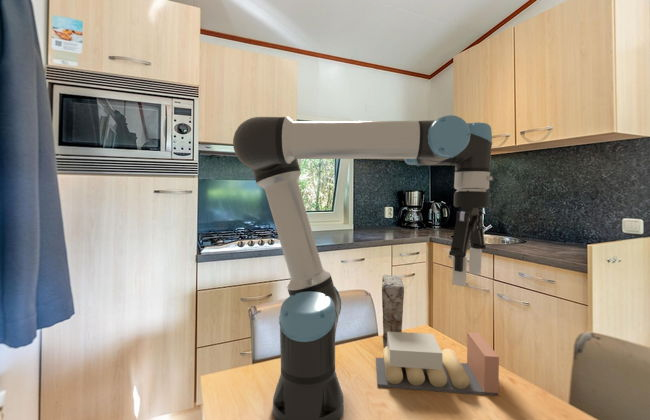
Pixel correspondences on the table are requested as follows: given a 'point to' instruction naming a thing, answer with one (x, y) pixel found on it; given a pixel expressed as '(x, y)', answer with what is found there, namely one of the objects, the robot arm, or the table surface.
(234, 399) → the table surface
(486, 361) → the stop block
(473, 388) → the roller bed
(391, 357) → the slab
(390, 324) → the stone block
